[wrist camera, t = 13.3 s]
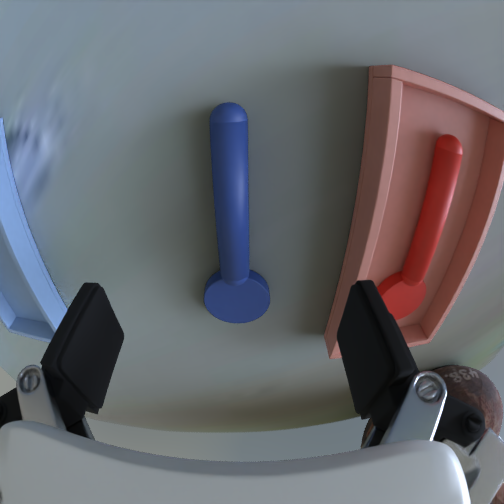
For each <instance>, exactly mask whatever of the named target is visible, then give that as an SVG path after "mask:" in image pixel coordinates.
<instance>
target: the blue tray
mask: <svg viewBox="0 0 504 504" xmlns="http://www.w3.org/2000/svg"><path fill="white" fill-rule="evenodd" d="M66 312H67V308H66V306H65V305H64V303H63V301H62V299H61V297H60V295H59V294H58V292H57V290H56V288H55V286H54V284H53V282H52V280H51V278H50V276H49V274H48V271H47V269H46V267H45V265H44V263H43V261H42V258H41V256H40V254H39V251H38V249H37V247H36V244H35V242H34V239H33V237H32V234H31V231H30V229H29V226H28V223H27V220H26V217H25V215H24V212H23V208H22V205H21V202H20V199H19V195H18V192H17V189H16V185H15V181H14V177H13V173H12V169H11V165H10V160H9V155H8V150H7V145H6V139H5V132H4V125H3V118H0V320H1V321H2V323H3V324H4V325H5V327H6V328H7V330H8V331H9V332H11V333H14V334H18V335H21V336H25V337H29V338H32V339H36V340H40V341H44V342H48V343H50V342H51V340H52V338H53V336H54V334H55V332H56V330H57V328H58V326H59V325H60V323H61V321H62V319H63V317H64V316H65V314H66Z"/></svg>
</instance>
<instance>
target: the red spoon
mask: <svg viewBox="0 0 504 504" xmlns="http://www.w3.org/2000/svg"><path fill="white" fill-rule="evenodd" d="M462 155H463V148H462V145H461V143H460V141H459V140H458V139H457V138H456V137H455V136H453V135H450V134H444V135H442V136H440V137H439V138H438V140H437V142H436V145H435V151H434V157H433V162H432V167H431V172H430V177H429V181H428V186H427V190H426V194H425V198H424V202H423V206H422V210H421V213H420V217H419V220H418V224H417V227H416V230H415V234H414V237H413V240H412V243H411V246H410V249H409V252H408V255H407V258H406V261H405V263H404V266H403V269H402V271H399V272H396V273H394V274H392V275H391V276H389V277H387V278H386V279H385V280H384V281H383V282H382V283H381V284H380V285H379V286H378V287H377V289H378V291H379V293H380V295H381V297H382V299H383V301H384V303H385V305H386V307H387V309H388V311H389V313H391V314H392V315H393V316H394V318H395V320H399V319H402V318H404V317H406V316H408V315H409V314H411V313H412V312H413V311H415V310H416V309H417V308H418V307H419V305H420V304H421V303H422V301H423V300H424V298H425V295H426V285H425V283H424V281H423V279H424V277H425V275H426V273H427V270H428V268H429V265H430V263H431V260H432V258H433V255H434V253H435V250H436V247H437V245H438V242H439V239H440V236H441V233H442V230H443V228H444V224H445V221H446V218H447V215H448V212H449V208H450V205H451V202H452V198H453V194H454V190H455V187H456V183H457V178H458V174H459V170H460V165H461V160H462Z"/></svg>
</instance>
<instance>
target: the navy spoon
mask: <svg viewBox="0 0 504 504" xmlns="http://www.w3.org/2000/svg"><path fill="white" fill-rule="evenodd" d="M209 122H210V142H211V160H212V176H213V191H214V204H215V217H216V230H217V241H218V252H219V263H220V271H218V272H217V273H215V274H214V275H212V276H211V277H210V279H209V280H208V281H207V283H206V287H205V292H204V304H205V306H206V308H207V310H208V311H209V312H210V313H211V314H212V315H213V316H215V317H216V318H218V319H220V320H222V321H225V322H230V323H246V322H250V321H253V320H255V319H257V318H259V317H261V316H262V315H263V314H264V313H265V312H266V311H267V309H268V307H269V304H270V295H269V287H268V284H267V282H266V281H265V280H264V278H263V277H262V276H261V275H259V274H258V273H256V272H254V271H252V270H250V269H249V196H248V119H247V114H246V112H245V110H244V109H243V108H242V107H241V106H239V105H238V104H236V103H231V102H227V103H222V104H220V105H218V106H217V107H216V108H215V109H214V110H213V111H212V113H211V115H210V121H209Z"/></svg>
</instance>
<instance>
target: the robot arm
mask: <svg viewBox="0 0 504 504" xmlns="http://www.w3.org/2000/svg"><path fill="white" fill-rule="evenodd" d="M123 340H124V333H123V330H122V328H121V326H120V324H119V322H118V320H117V318H116V316H115V314H114V311H113V309H112V307H111V305H110V302H109V300H108V298H107V295H106V293H105V291H104V289H103V287H101V286H100V285H99V284H98V283H87V282H86V283H84V284H83V285H82V287H81V288H80V290H79V292H78V293H77V295H76V297H75V298H74V300H73V302H72V303H71V305H70V307H69V308H68V310H67V312H66V314H65V316H64V317H63V319H62V321H61V323H60V325H59V326H58V328H57V330H56V332H55V334H54V336H53V338H52V340H51V342H50V344H49V346H48V348H47V350H46V352H45V354H44V356H43V358H42V360H41V362H40V363H41V364H42V368H40V367H39V366H36V365H29V366H26V367H25V368H24V369H22V371H21V372H20V373H19V375H18V377H17V381H16V388H14V389H13V390H11V391H9V392H8V393H6V394H4V395H3V396H1V397H0V504H490V502H491V501H492V499H493V498H494V496H495V495H496V493H497V492H498V490H499V488H500V487H501V485H502V483H503V482H504V442H503V441H502V440H501V439H500V438H499V436H498V435H497V434H496V433H495V432H494V431H493V430H492V429H491V428H490V427H488V428H487V429H486V428H485V418H484V416H483V414H482V413H481V411H480V410H478V409H477V408H475V407H473V406H471V405H469V404H467V403H465V402H463V401H461V400H459V399H457V398H455V397H453V396H451V395H449V394H447V388H446V384H445V382H444V380H443V379H442V378H441V376H440V375H438V374H437V373H435V372H432V371H422V372H419V371H418V368H417V366H416V364H415V361H414V359H413V357H412V354H411V352H410V350H409V348H408V345H407V343H406V341H405V339H404V337H403V335H402V333H401V330H400V328H399V326H398V324H397V322H396V320H395V318H394V316H393V315H392V314H391V313H389V311H388V309H387V307H386V305H385V303H384V301H383V299H382V297H381V295H380V293H379V291H378V289H377V287H376V286H375V284H374V282H373V281H372V280H358V281H356V283H355V285H352V286H351V288H350V291H349V295H348V298H347V302H346V305H345V308H344V312H343V315H342V318H341V321H340V324H339V327H338V330H337V342H338V346H339V349H340V353H341V356H342V360H343V363H344V367H345V371H346V375H347V379H348V382H349V386H350V390H351V394H352V398H353V402H354V406H355V410H356V412H357V414H361V419H367V418H372V422H373V425H374V426H373V428H372V430H371V432H370V434H369V435H368V437H367V439H366V441H365V443H364V444H363V446H362V448H361V449H359V450H354V451H349V452H344V453H338V454H332V455H325V456H318V457H311V458H303V459H294V460H281V461H262V462H261V461H260V462H227V461H206V460H194V459H184V458H176V457H169V456H162V455H156V454H150V453H145V452H139V451H134V450H130V449H125V448H121V447H117V446H113V445H109V444H106V443H102V442H99V441H96V440H95V438H94V436H93V434H92V432H91V430H90V428H89V425H88V423H87V421H86V418H85V416H84V415H85V412H86V411H87V412H91V413H95V414H98V411H99V408H101V407H102V406H103V403H104V399H105V396H106V392H107V389H108V386H109V383H110V379H111V376H112V373H113V370H114V367H115V364H116V361H117V358H118V355H119V352H120V349H121V346H122V343H123Z"/></svg>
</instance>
